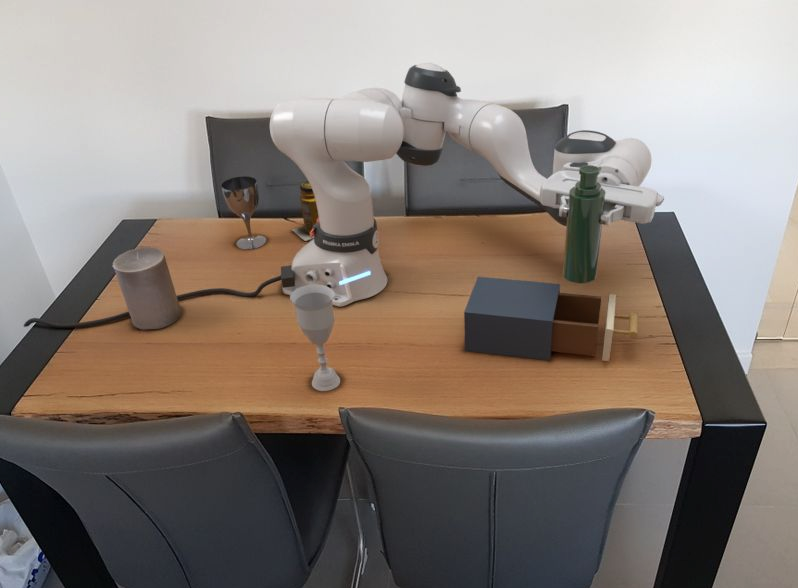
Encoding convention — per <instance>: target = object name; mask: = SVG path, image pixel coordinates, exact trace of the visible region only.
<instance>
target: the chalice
mask: <svg viewBox="0 0 798 588" xmlns="http://www.w3.org/2000/svg"><path fill="white" fill-rule="evenodd" d="M333 297H334V292H333V290H332V289H331V288H329V287H327V286H323V285H307V286H303V287H300V288H298V289H296V290H295V291H293V292H292V294H291V295H289V300H290V302H291V303H292V304H293V305H294V310H295V316H296V321H297V324H298V326H299V328H300V330H301V331H302V333H303V334H304V336H306V338H307V339H308V340H309V342H310V343H311V344H313V345H316V346H317V348H316V350H315V351H316V354H317V355H318V359H317V363H318V364H319V365H320V367H319V368H317V370H316V371H315V372H314V373H313V377H312V381H311V386H312V388H314V389H315V390H317V391H320V392H328V391H332V390H334V389H336V388H337V387H338V386H340V383H341V378H340V377H339V375H338V374H337V372H336V371H335V369H333V368H332V367H330V366H327V362H328V361H329V359H328V358H327V357H326V356H325V354H326V353H327V350H326V349H325V348H324V344H326V343H327V342H328V340H329V338H330V336H331V333H332V331H333V327H334V324H335V312H334V305H332V300H333Z"/></svg>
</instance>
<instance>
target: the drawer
mask: <svg viewBox="0 0 798 588" xmlns="http://www.w3.org/2000/svg"><path fill="white" fill-rule="evenodd" d="M602 297H603V296H602V295H601V296H598V295H591V294H590V295H589V294H579V293H578V294H577V293H567V292H560V293H559V295H558V300H557V305H556V310H555V315H554V320H553V329H552V343H551V351H552V352H556V353H566V354H573V355H584V356H592V357H595V356H596V351H597V343H598V334H599V327H600V326H599V324H600V315H601V307H602V306H601V305H602V299H603V298H602ZM616 302H617V294H611V293H610V294H608V302H607V310H606V317H605V324H604V325H605V327H604V335H603V336H604V338H603V348H602V355H601V356H602V357H601V360H602V361H603V362H610V358H611V357H610V356H611V349H612V343H613V335H622V336H628V337H629V338H630V339H637V337H638V335H639V315H638V313H636V312H632V313H629V314H621V313H620V314H619V313H616ZM615 319H617V320H618V319H619V320H620V319H621V320H628V330H625V329H617V328H614V327H615Z"/></svg>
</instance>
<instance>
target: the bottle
mask: <svg viewBox="0 0 798 588" xmlns="http://www.w3.org/2000/svg"><path fill="white" fill-rule="evenodd" d="M579 174H580V181H579V182H577V183H576V184H575V187H573V188H571V189H570V191H569V203H568V215H567V227H566V230H565V243H564V254H563V255H564V256H563V267H562V269H563V270H562V277H563V278H564V279H565V280H566V281H568V282H571V283H574V284H589V283H591V282H593V281H595V280H596V278H597V273H598V264H599V255H600V247H601V237H602V228H603V224H600V221H601V219H600V217H601V214H603V212H604V203H605V194H606V192H605V190H604V189H602V188H601V184H600V183H598V182H597V178H598V175H599V174H600V168H599V167H597V166H593V165H585V166H582V167H580V168H579Z"/></svg>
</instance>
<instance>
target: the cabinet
mask: <svg viewBox="0 0 798 588" xmlns="http://www.w3.org/2000/svg"><path fill="white" fill-rule="evenodd" d="M560 290H561V283H554V282H544V281H543V282H542V281H533V280H521V279H520V280H519V279H509V278H500V277H499V278H497V277H488V276H487V277H486V276H477V277H476V280H475V282H474V285H473V288H472V291H471V293H470V296H469V298H468V302H467V304H466V306H465V309H464V311H463V315H464V316H463V317H464V318H463V319H464V321H463V324H464V325H463V326H464V327H463V328H464V351H465V352H471V353H482V354H490V355H496V356H497V355H499V356H507V357H516V358H525V359H532V360H542V361H551V356H552V352H553V351H551V343H552V329H553V320H554V315H555V310H556V305H557V300H558V295H559V293H561V292H560Z"/></svg>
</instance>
